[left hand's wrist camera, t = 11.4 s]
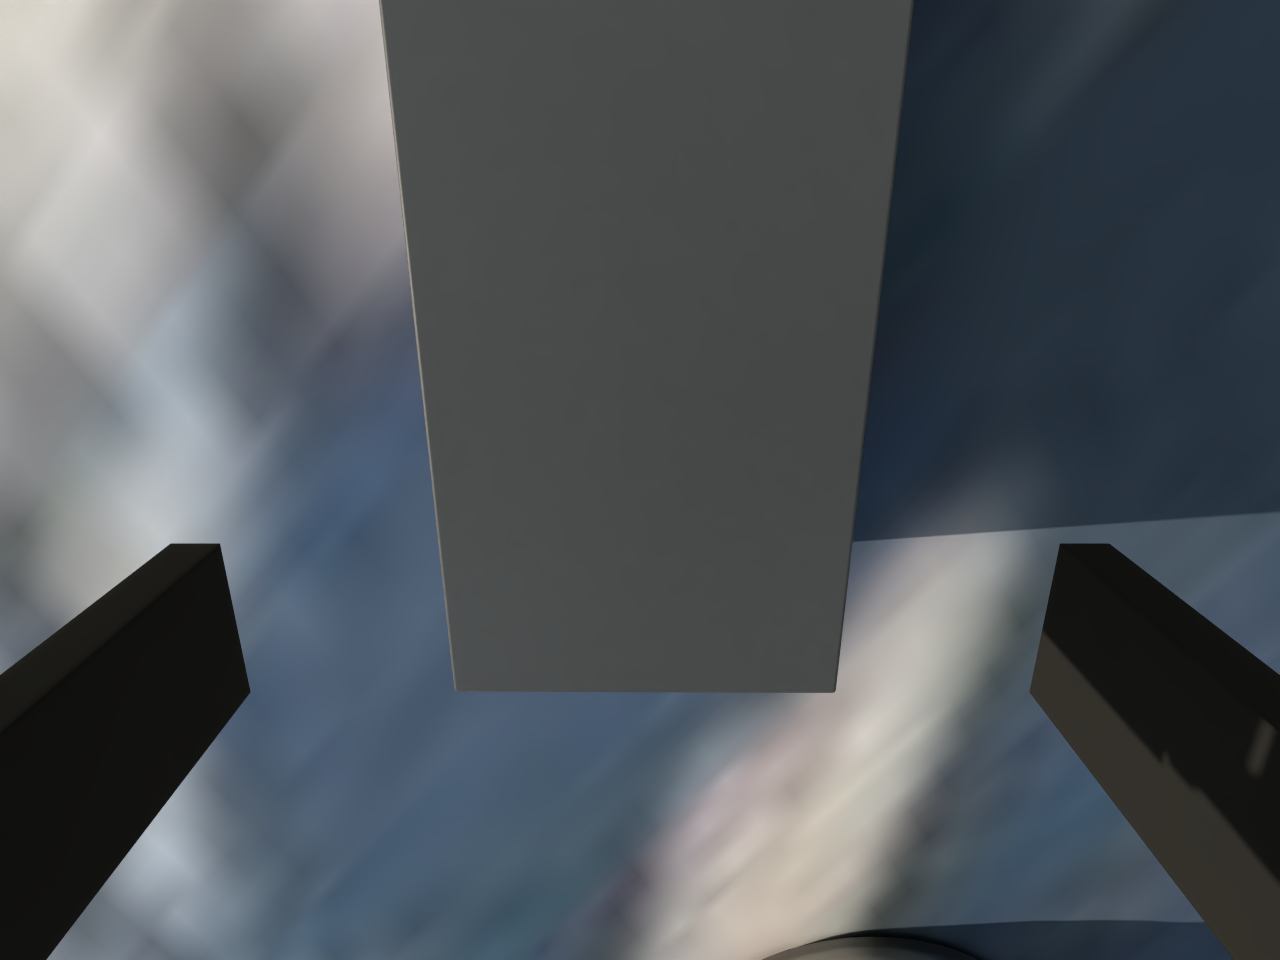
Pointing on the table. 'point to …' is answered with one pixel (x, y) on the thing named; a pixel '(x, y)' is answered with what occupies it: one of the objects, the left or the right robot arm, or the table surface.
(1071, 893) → the table surface
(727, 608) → the wide beam
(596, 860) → the table surface
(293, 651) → the table surface
